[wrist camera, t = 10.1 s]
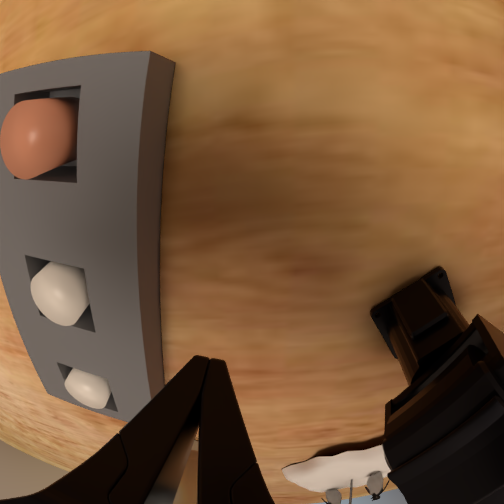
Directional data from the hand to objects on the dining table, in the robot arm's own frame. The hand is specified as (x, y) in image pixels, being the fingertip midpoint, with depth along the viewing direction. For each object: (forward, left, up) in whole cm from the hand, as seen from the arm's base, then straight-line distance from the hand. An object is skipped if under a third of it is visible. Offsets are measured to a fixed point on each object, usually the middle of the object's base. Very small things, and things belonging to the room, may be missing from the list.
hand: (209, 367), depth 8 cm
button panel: (+4, +11, -11) cm, 17 cm away
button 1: (+4, +11, -11) cm, 16 cm away
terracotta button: (+11, +4, -10) cm, 15 cm away
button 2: (-3, +18, -11) cm, 21 cm away
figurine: (-38, +9, -12) cm, 41 cm away
